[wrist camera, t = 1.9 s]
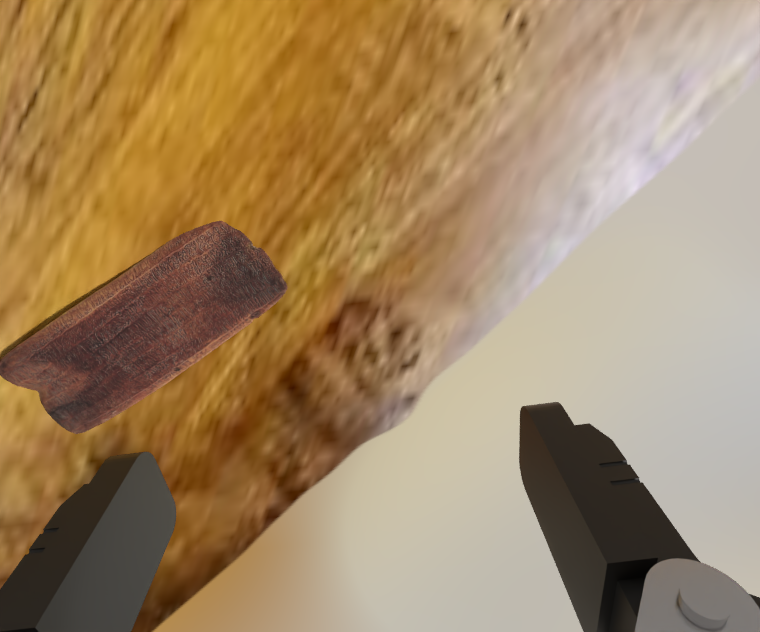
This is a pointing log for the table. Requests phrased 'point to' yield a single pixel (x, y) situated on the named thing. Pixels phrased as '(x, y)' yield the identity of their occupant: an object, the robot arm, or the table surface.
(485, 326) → the table surface
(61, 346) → the wooden tablet
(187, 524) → the table surface
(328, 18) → the table surface
